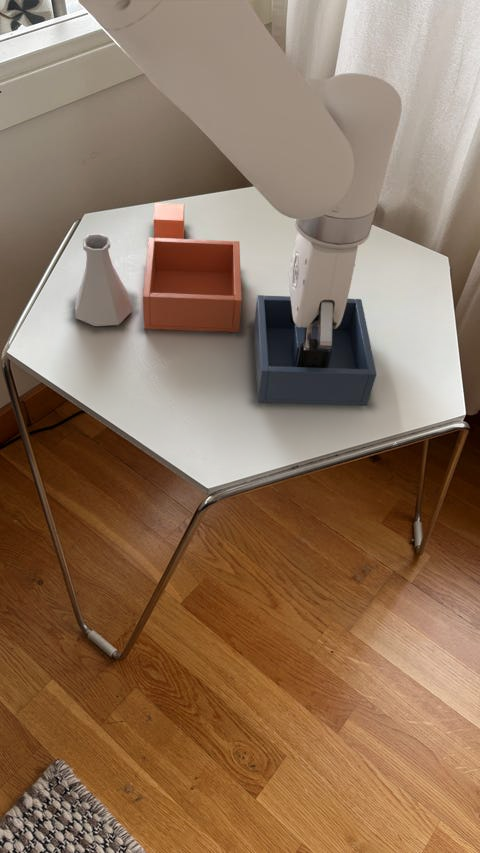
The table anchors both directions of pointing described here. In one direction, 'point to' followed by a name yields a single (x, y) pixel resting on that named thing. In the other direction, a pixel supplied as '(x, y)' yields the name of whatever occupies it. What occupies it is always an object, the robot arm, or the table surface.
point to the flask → (101, 287)
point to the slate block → (299, 338)
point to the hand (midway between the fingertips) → (306, 345)
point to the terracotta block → (169, 221)
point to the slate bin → (332, 385)
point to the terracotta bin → (192, 285)
